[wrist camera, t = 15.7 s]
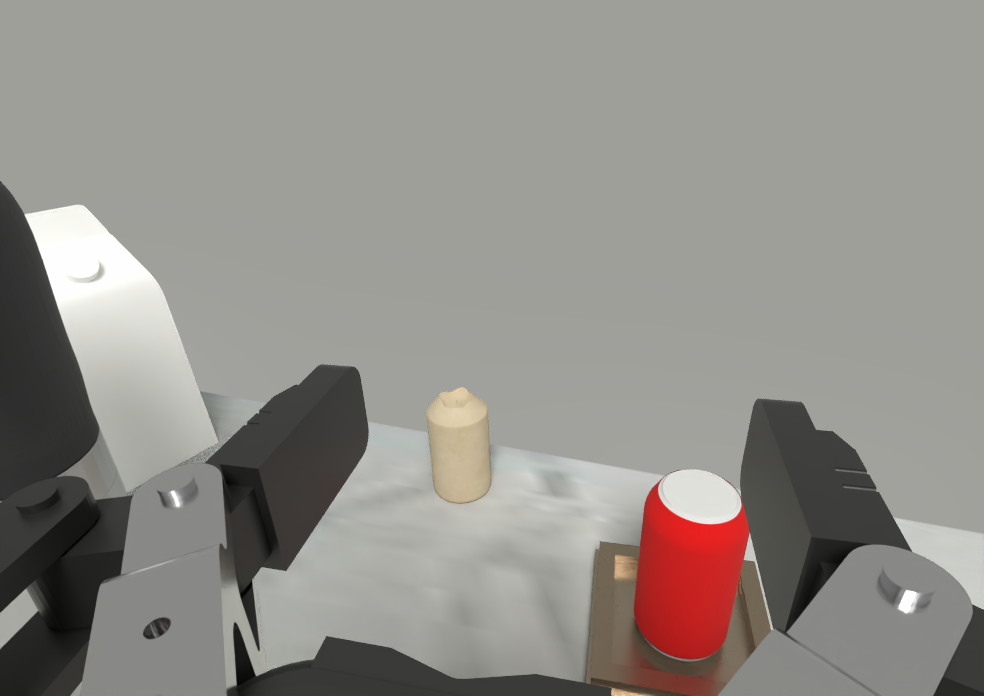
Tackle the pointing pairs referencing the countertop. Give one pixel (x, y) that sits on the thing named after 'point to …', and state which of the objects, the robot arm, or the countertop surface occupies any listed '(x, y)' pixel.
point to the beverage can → (689, 563)
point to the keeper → (634, 662)
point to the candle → (459, 446)
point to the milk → (123, 346)
